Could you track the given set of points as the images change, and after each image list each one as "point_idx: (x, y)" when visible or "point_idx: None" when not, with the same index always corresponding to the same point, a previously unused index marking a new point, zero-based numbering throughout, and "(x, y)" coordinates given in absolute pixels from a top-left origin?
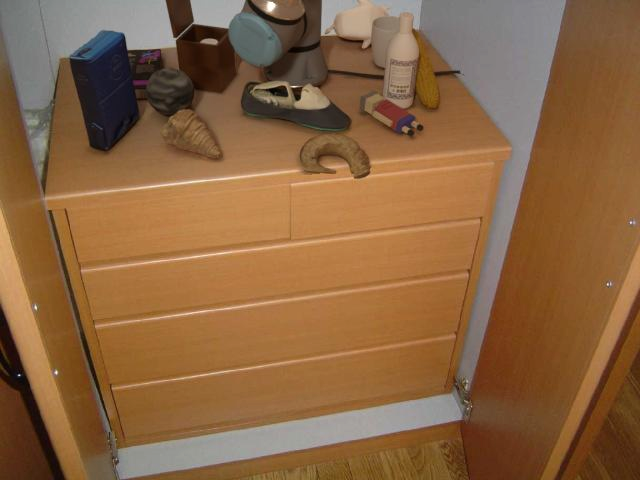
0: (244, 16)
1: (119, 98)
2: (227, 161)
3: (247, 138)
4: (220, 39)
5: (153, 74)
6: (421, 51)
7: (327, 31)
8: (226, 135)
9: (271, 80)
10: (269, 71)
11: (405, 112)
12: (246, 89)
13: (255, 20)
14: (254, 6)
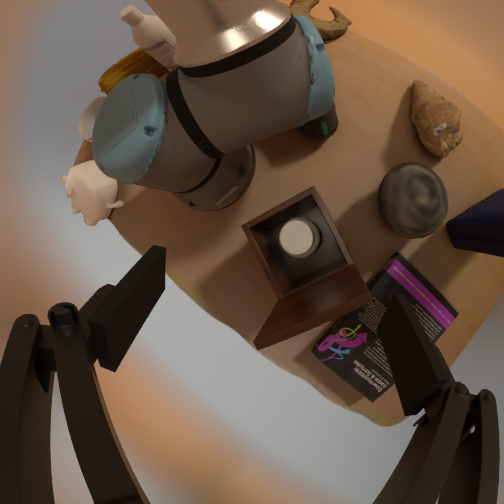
0: (318, 34)
1: (497, 197)
2: (408, 78)
3: (365, 91)
4: (264, 245)
5: (437, 215)
6: (127, 55)
7: (120, 201)
8: (382, 112)
9: (252, 161)
10: (240, 175)
11: None
12: (331, 108)
13: (308, 19)
14: (292, 17)
